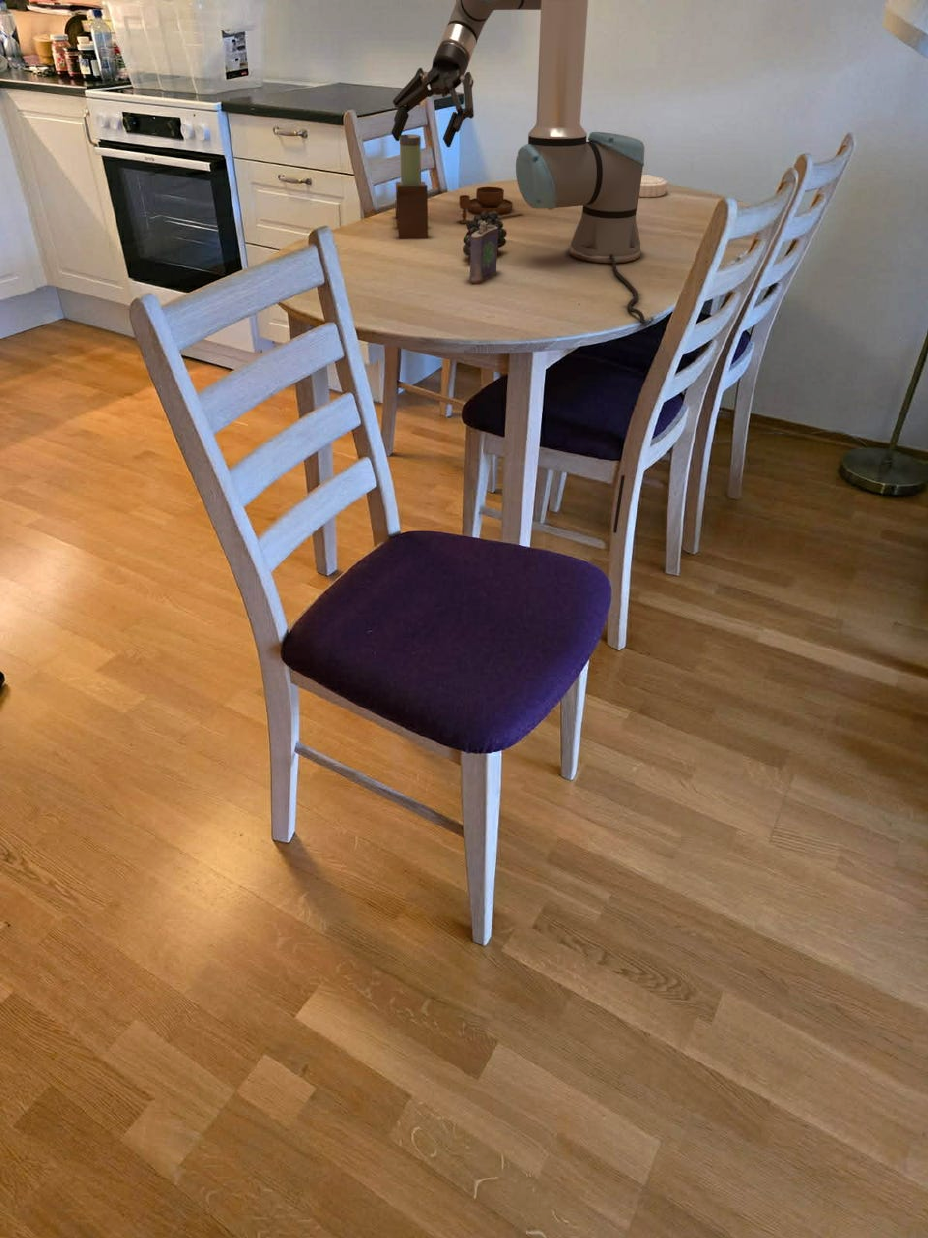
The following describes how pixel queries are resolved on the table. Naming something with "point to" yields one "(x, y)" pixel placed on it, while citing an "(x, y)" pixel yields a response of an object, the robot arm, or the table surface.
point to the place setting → (486, 202)
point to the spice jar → (410, 159)
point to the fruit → (491, 220)
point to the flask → (483, 253)
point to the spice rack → (412, 210)
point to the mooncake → (652, 186)
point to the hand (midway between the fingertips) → (420, 139)
